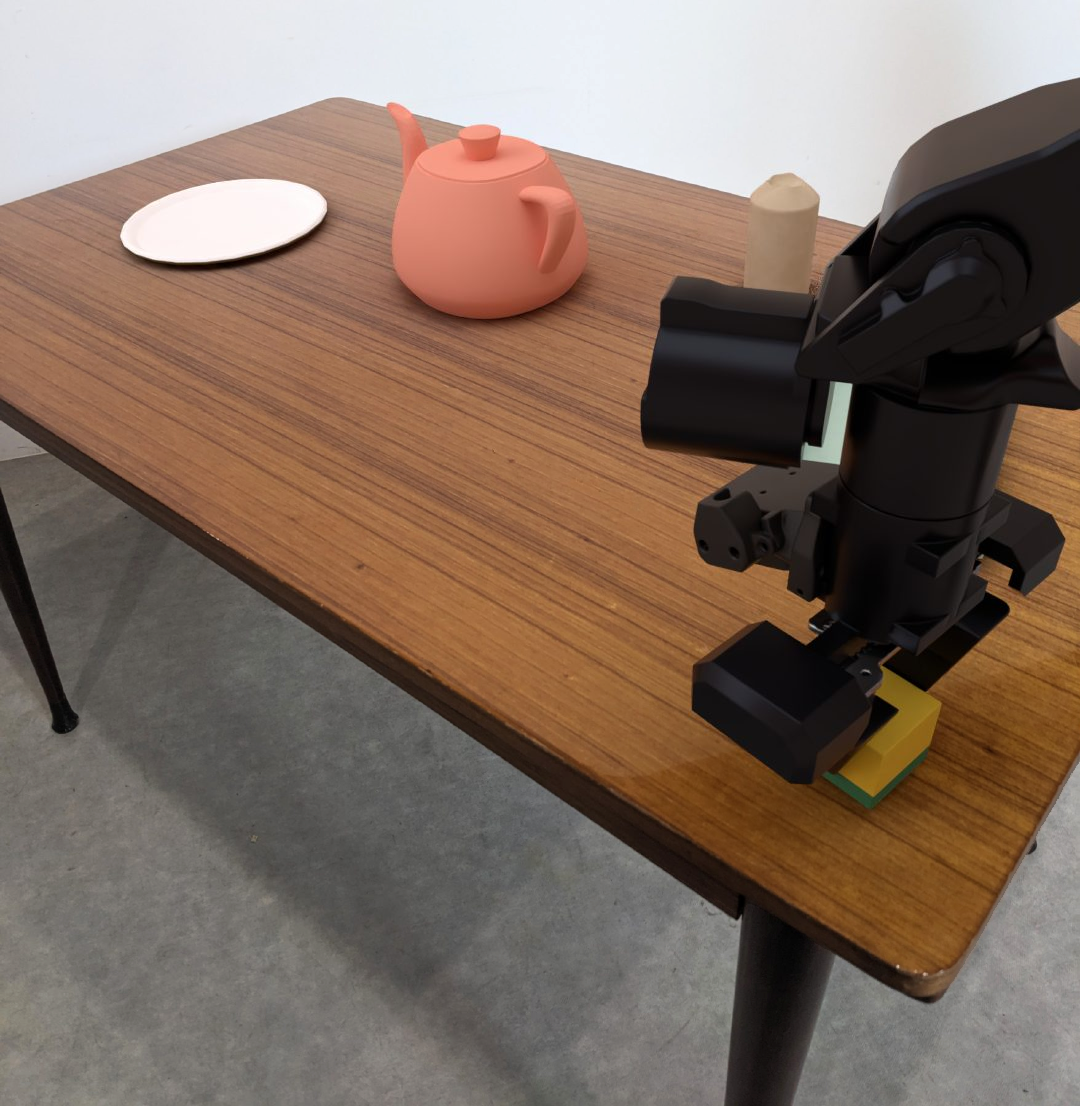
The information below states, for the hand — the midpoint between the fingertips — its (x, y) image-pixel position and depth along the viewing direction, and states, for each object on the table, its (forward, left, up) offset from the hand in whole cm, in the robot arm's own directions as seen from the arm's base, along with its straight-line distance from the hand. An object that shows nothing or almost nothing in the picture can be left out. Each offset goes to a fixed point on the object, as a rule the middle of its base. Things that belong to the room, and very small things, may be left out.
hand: (858, 739), depth 50 cm
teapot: (+56, -21, -2) cm, 60 cm away
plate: (+85, -10, -2) cm, 86 cm away
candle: (+35, -36, -2) cm, 51 cm away
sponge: (0, 0, -1) cm, 1 cm away
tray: (+15, -23, -2) cm, 28 cm away
